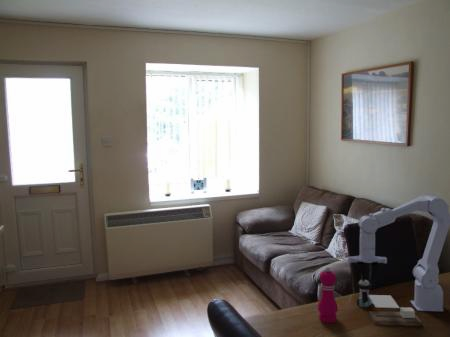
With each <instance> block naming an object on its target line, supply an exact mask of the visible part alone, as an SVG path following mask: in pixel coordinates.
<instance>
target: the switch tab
mask: <svg viewBox="0 0 450 337" xmlns="http://www.w3.org/2000/svg"><path fill="white" fill-rule="evenodd" d="M399 312H400V314H401V316H402V317H403V318H415V315H416V311H415V309H414V308H412V307H403V306H401V307H400V306H399Z"/></svg>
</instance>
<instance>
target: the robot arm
mask: <svg viewBox="0 0 450 337" xmlns="http://www.w3.org/2000/svg"><path fill="white" fill-rule="evenodd" d="M449 209H450V205H449V204H448V203H447V202H446V201H445V199H443V198H440V197H437V196H434V195H433V194H431V193H426V194H424V195H420V196H418V197H416V198H415V199H412V200H410V201H408V202H405V203H403V204H400V205H399V206H396V207H395V208H393V209H390V208H387V207H386V208H384V207H382V208H380V210H379V211H377V212H374V213H372V212H371V213H369V214H368V215H363V216H361V217H360V218H359V219H358V221H357V224H358V225H357V226H358V227H359V255H354V256H353V255H352V256H347V262H348V264H352V263H356V266H357V268H358V271H359V273H360V278H361V279H360V280H362V281H364V280H366V279H365V270H366V265H365V263H367V264H368V265H369V266H368V267H369V270H368V271H369V273H368V281H369V282H373V279H374V276H375V274H376V272H377V270H378V269H379V264H381V263H382V264H387V263H388V258H387V257H386V256H376V232H377V230H378V229H379V228H382V227H384V226H387V225H390V224H392V223H394V222H395V221H396V219H397V218H399V217H402V216H405V215H407V214H410V213H413V212H416V211H418V212H424V213H428V214H429V216H430V217H431V218H432V220H433V223H432V227H431V230H430V232H429V235H428V239H427V242H426V246H425V248H424V252H423V254H422V258H421V259H419V260H417V264H416V265H415V266H414V267H413V269H412V275H413V277H414V278H415V280H414V298H413V300H410V301H409V302H410V303H411V305H412V306H413V307H414V308H415V309H416V310H417V311H419V312H444V291H443V288H442V286H441V285H440V284H439V282H440V279H439V278H440V277H439V273H440V269H439V266H438V263H439V260H440V257H441V253H442V251H443V247H444V244H445V241H446V238H447V235H448V232H449V228H450V210H449Z"/></svg>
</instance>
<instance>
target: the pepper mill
mask: <svg viewBox="0 0 450 337" xmlns="http://www.w3.org/2000/svg"><path fill="white" fill-rule="evenodd" d="M319 281H320V282H321V283H320V288H321V290H322V293H321V297H320V298H319V301H318V303H317V311H318V312H319V313H318V318H319V320H320V321H321V322H323V323H326V324H333V323H336V321H337V313H338V311H339V307H338V303H337V301H336V298H335V295H334V290H335V289H336V284H335V283H337V276H336V274H335V273H334V272H333V271H331V268H330V267H329V266H326V267H325V269H324V270H323V271H321V272H320V274H319Z"/></svg>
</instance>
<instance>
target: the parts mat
mask: <svg viewBox="0 0 450 337" xmlns="http://www.w3.org/2000/svg"><path fill="white" fill-rule="evenodd" d="M369 299H370V300H373V301H371V302H372V304H373V306H374V307H375V308H376V309H400V306H399V305H398V303H397V302H396V300H395V299H394V298H393V297H392V295H390V294H389V295H386V294H385V295H384V294H381V295H379V294H369Z"/></svg>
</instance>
